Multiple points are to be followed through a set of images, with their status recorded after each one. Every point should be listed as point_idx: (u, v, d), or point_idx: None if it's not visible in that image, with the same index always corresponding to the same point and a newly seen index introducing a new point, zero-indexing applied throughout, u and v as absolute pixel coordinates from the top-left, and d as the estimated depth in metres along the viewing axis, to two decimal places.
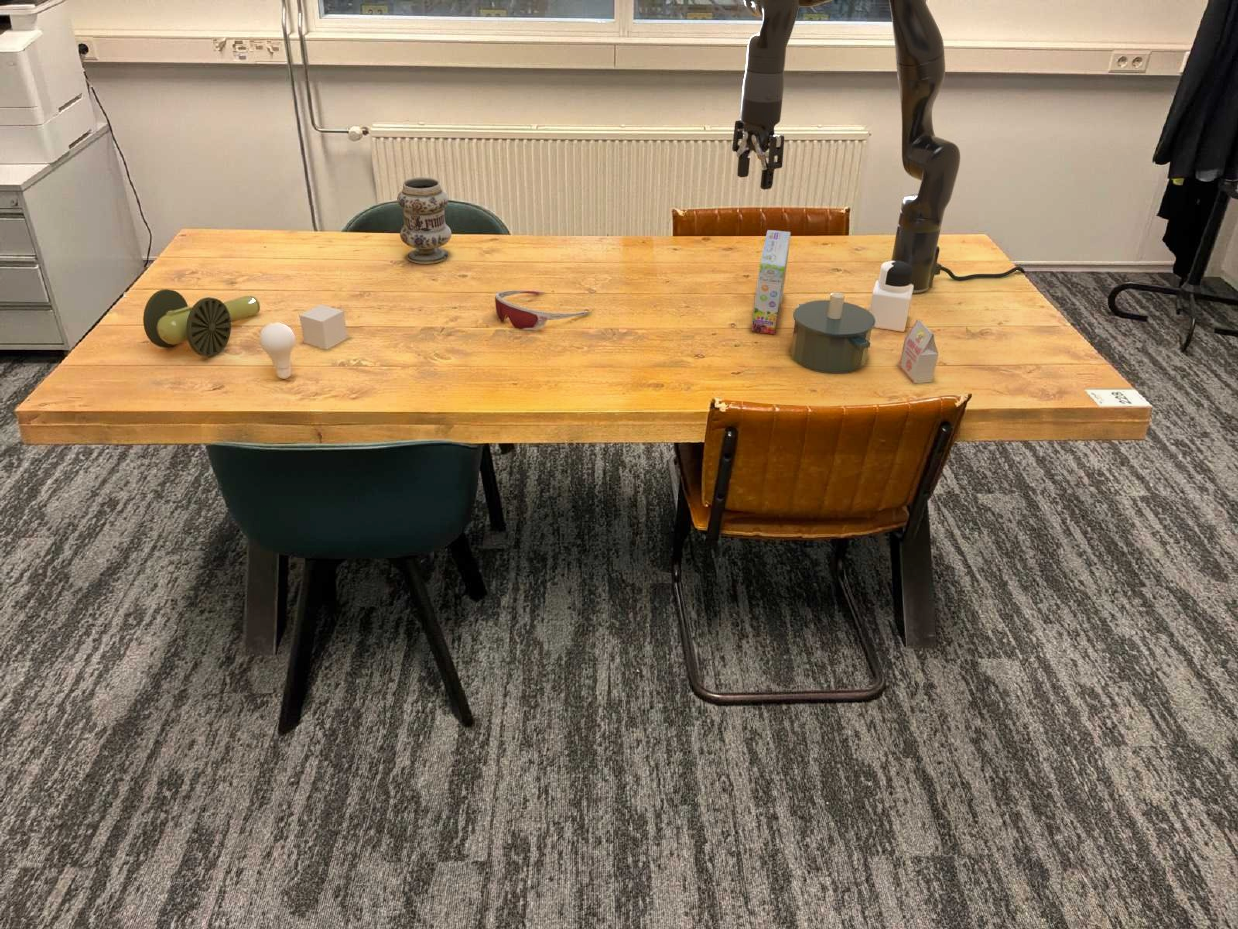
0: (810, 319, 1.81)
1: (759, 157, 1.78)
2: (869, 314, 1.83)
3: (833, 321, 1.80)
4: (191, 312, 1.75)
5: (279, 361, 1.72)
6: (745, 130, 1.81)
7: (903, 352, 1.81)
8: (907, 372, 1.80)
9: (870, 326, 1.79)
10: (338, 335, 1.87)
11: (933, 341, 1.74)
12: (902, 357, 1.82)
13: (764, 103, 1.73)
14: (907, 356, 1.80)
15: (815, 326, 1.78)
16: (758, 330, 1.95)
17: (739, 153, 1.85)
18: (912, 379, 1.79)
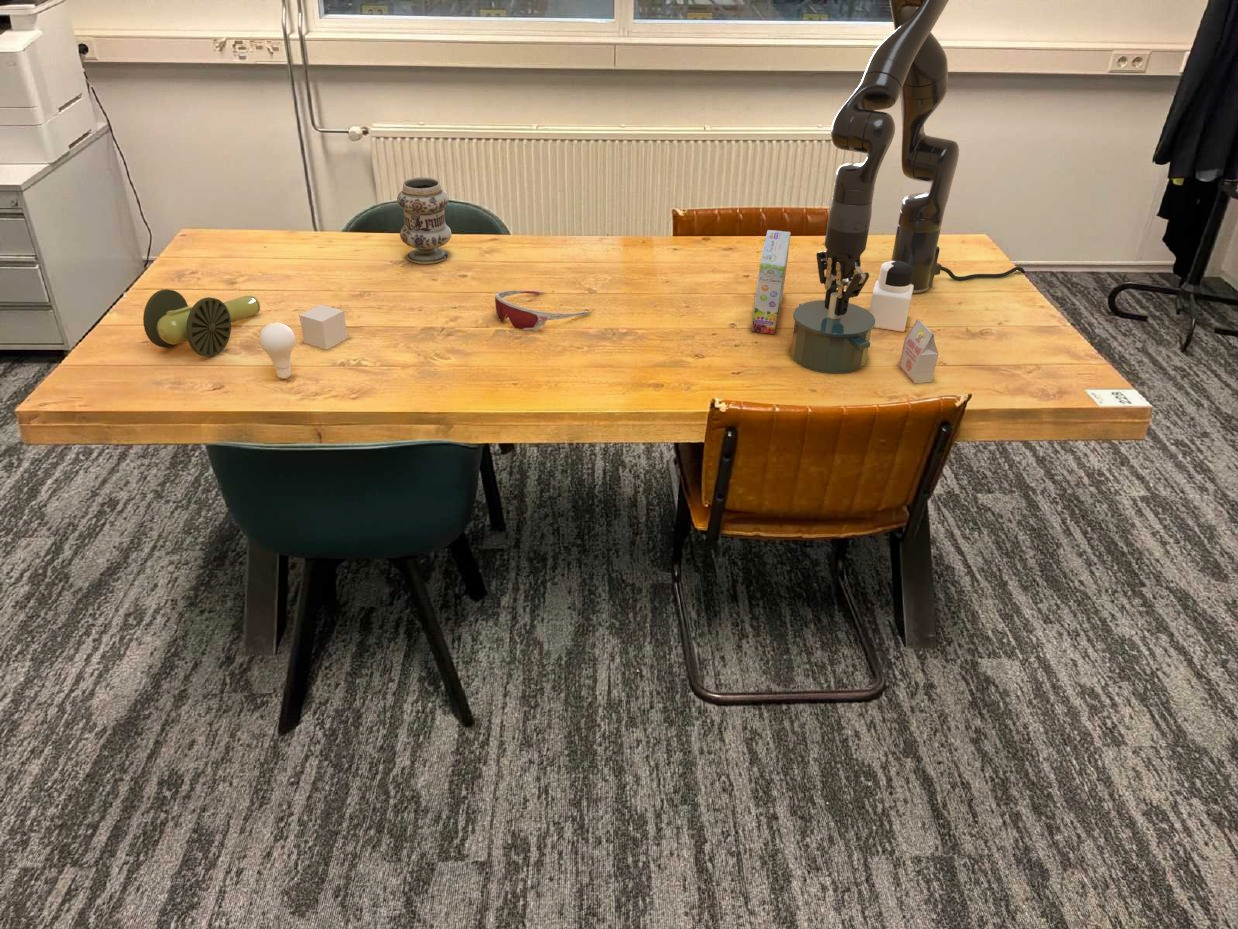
0: (810, 319, 1.81)
1: (837, 284, 1.76)
2: (869, 314, 1.83)
3: (833, 321, 1.80)
4: (191, 312, 1.75)
5: (279, 361, 1.72)
6: (828, 255, 1.78)
7: (903, 352, 1.81)
8: (907, 372, 1.80)
9: (870, 326, 1.79)
10: (338, 335, 1.87)
11: (933, 341, 1.74)
12: (901, 357, 1.82)
13: (851, 234, 1.69)
14: (907, 356, 1.80)
15: (815, 326, 1.78)
16: (758, 330, 1.95)
17: (827, 285, 1.80)
18: (912, 379, 1.79)
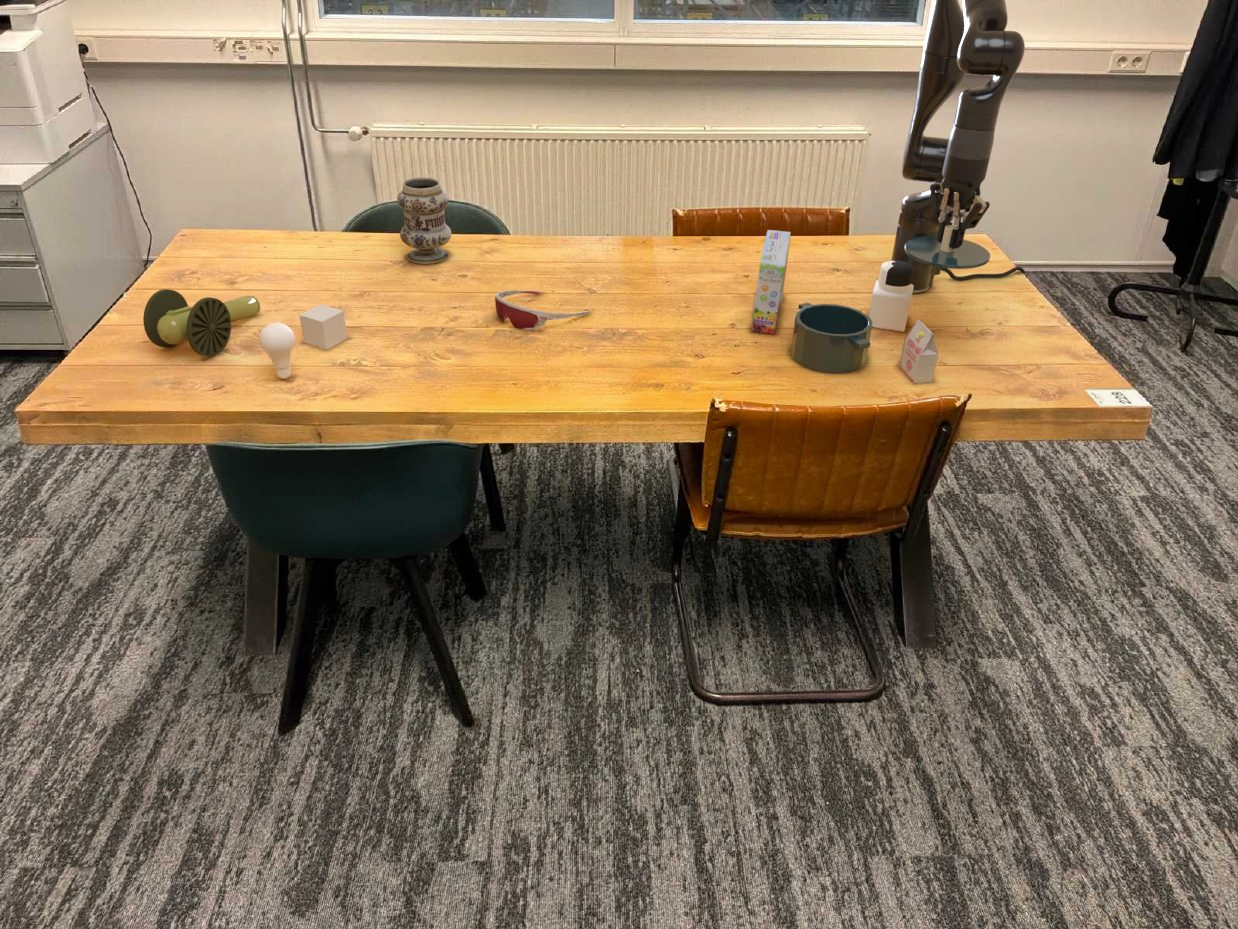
0: (923, 252, 1.78)
1: (954, 215, 1.73)
2: (982, 248, 1.80)
3: (947, 254, 1.77)
4: (191, 312, 1.75)
5: (279, 361, 1.72)
6: (944, 186, 1.74)
7: (903, 352, 1.81)
8: (907, 372, 1.80)
9: (986, 259, 1.75)
10: (338, 335, 1.87)
11: (933, 341, 1.74)
12: (902, 357, 1.82)
13: (974, 161, 1.66)
14: (907, 356, 1.80)
15: (930, 258, 1.75)
16: (758, 330, 1.95)
17: (942, 217, 1.76)
18: (912, 379, 1.79)
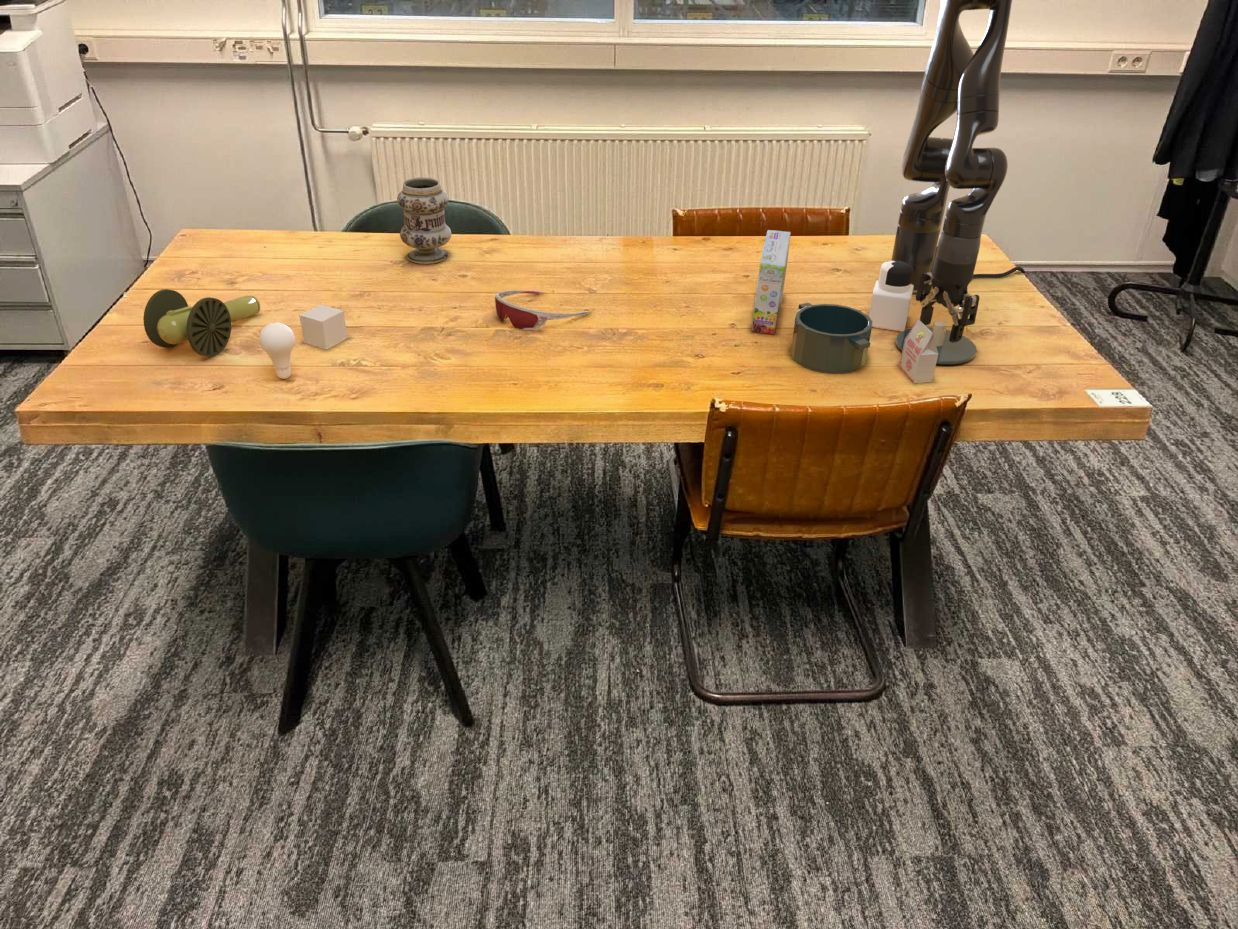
0: None
1: (951, 313, 1.82)
2: (969, 341, 1.91)
3: None
4: (191, 312, 1.75)
5: (279, 361, 1.72)
6: (934, 284, 1.85)
7: (903, 352, 1.81)
8: (907, 372, 1.80)
9: (972, 353, 1.86)
10: (338, 335, 1.87)
11: (933, 341, 1.74)
12: (902, 357, 1.82)
13: (961, 265, 1.77)
14: (907, 356, 1.80)
15: None
16: (758, 330, 1.95)
17: (924, 304, 1.89)
18: (912, 379, 1.79)
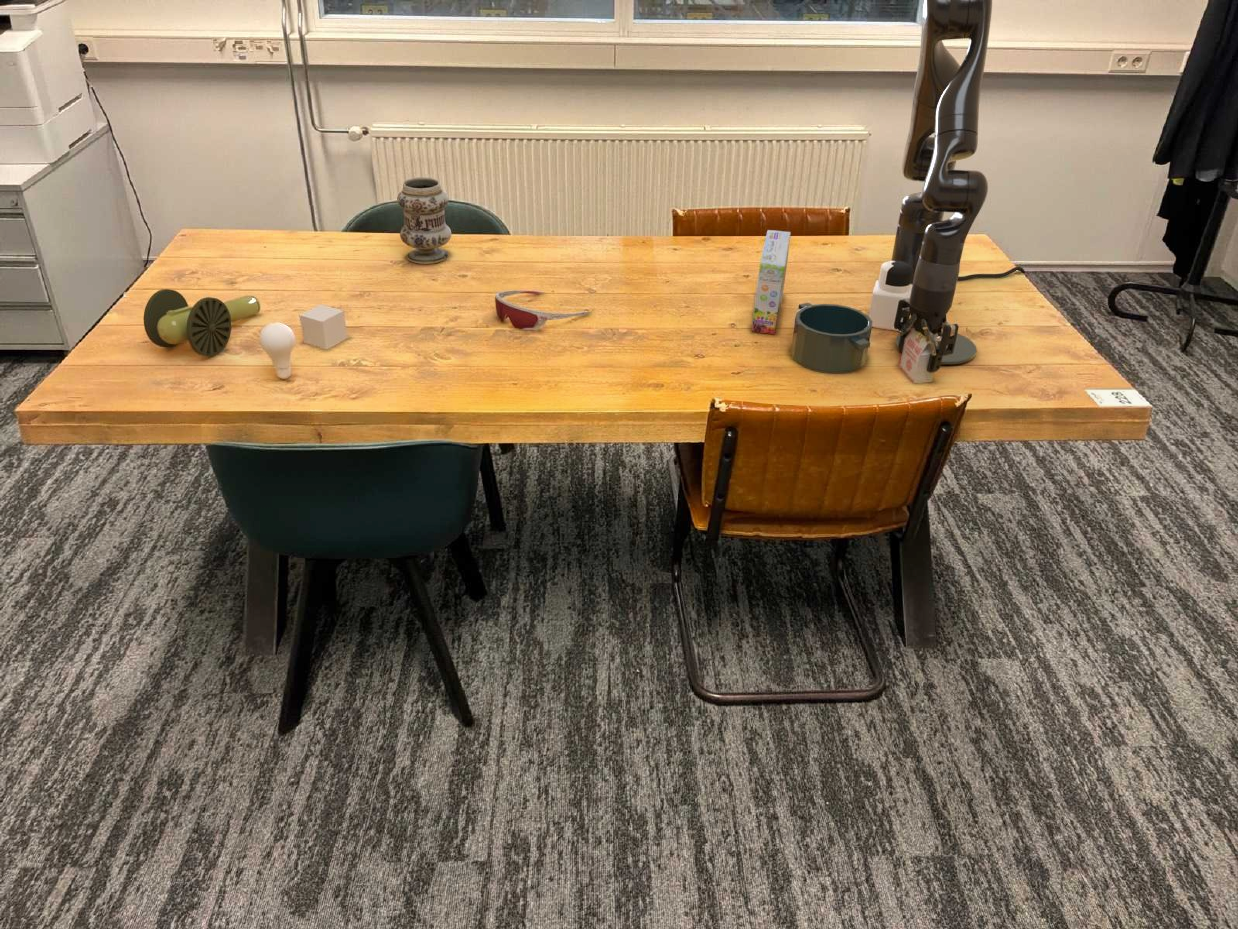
0: None
1: (928, 342, 1.74)
2: (969, 341, 1.91)
3: None
4: (191, 312, 1.75)
5: (279, 361, 1.72)
6: (912, 311, 1.77)
7: (903, 352, 1.81)
8: (907, 372, 1.80)
9: (972, 353, 1.86)
10: (338, 335, 1.87)
11: None
12: (902, 357, 1.82)
13: (939, 292, 1.68)
14: (907, 356, 1.80)
15: None
16: (758, 330, 1.95)
17: (903, 332, 1.80)
18: (912, 379, 1.79)
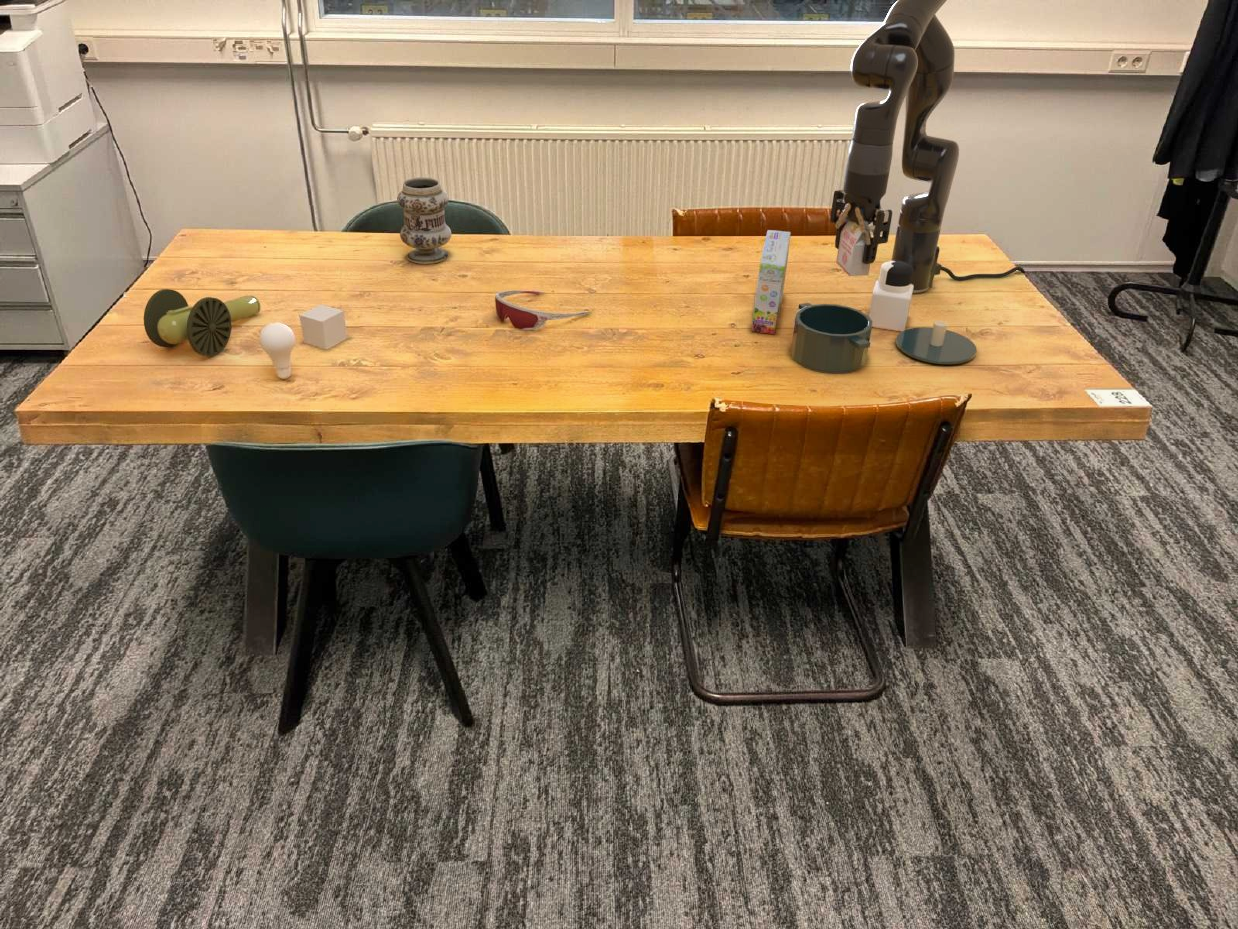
0: (914, 346, 1.89)
1: (863, 231, 1.68)
2: (969, 341, 1.91)
3: (936, 348, 1.88)
4: (191, 312, 1.75)
5: (279, 361, 1.72)
6: (846, 201, 1.71)
7: (840, 246, 1.76)
8: (843, 266, 1.75)
9: (972, 353, 1.86)
10: (338, 335, 1.87)
11: None
12: (838, 252, 1.77)
13: (872, 176, 1.63)
14: (843, 249, 1.75)
15: (920, 353, 1.86)
16: (758, 330, 1.95)
17: (838, 225, 1.75)
18: (848, 272, 1.74)
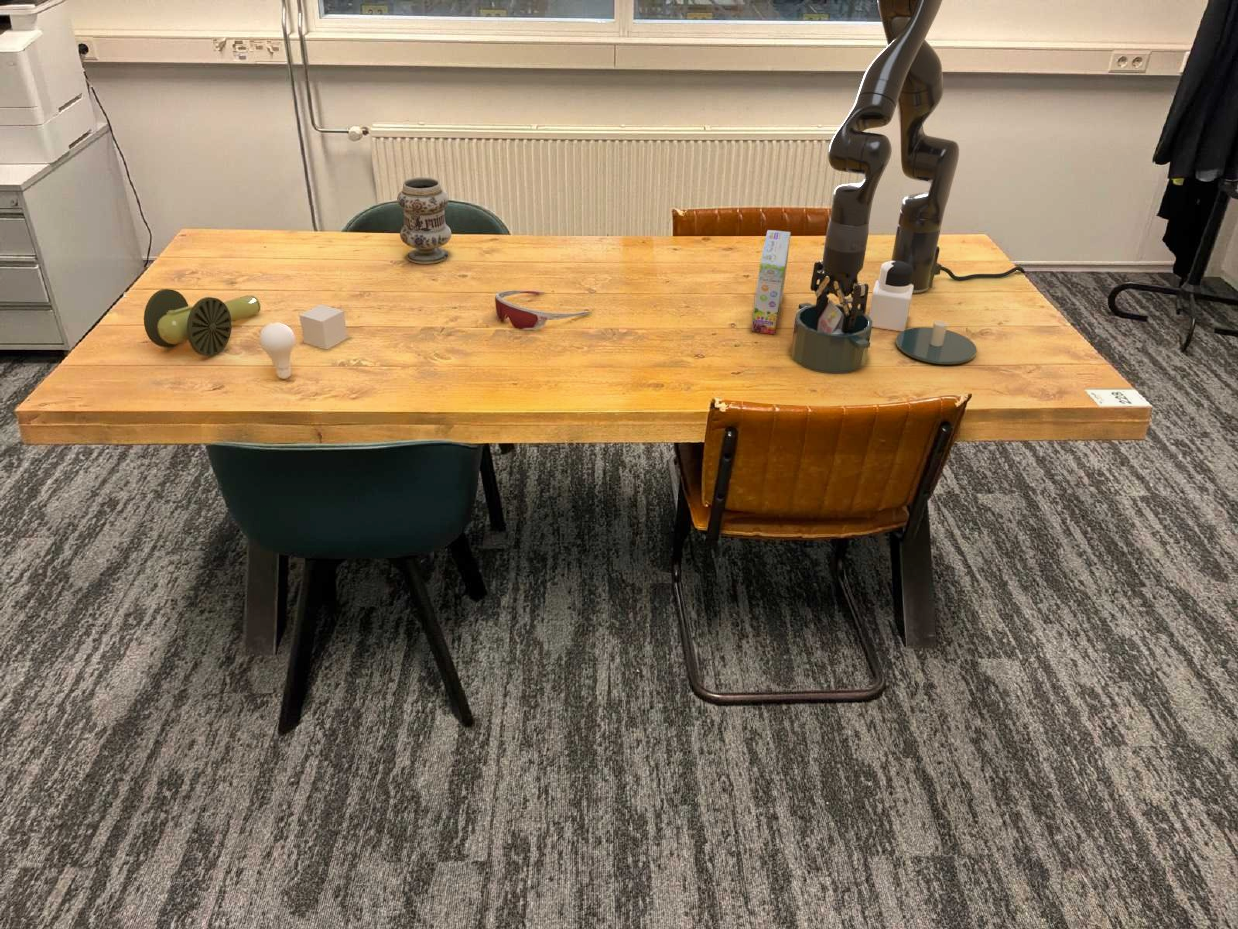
0: (914, 346, 1.89)
1: (841, 303, 1.77)
2: (969, 341, 1.91)
3: (936, 348, 1.88)
4: (191, 312, 1.75)
5: (279, 361, 1.72)
6: (826, 273, 1.80)
7: None
8: None
9: (972, 353, 1.86)
10: (338, 335, 1.87)
11: None
12: None
13: (849, 253, 1.71)
14: None
15: (920, 353, 1.86)
16: (758, 330, 1.95)
17: (818, 294, 1.83)
18: None
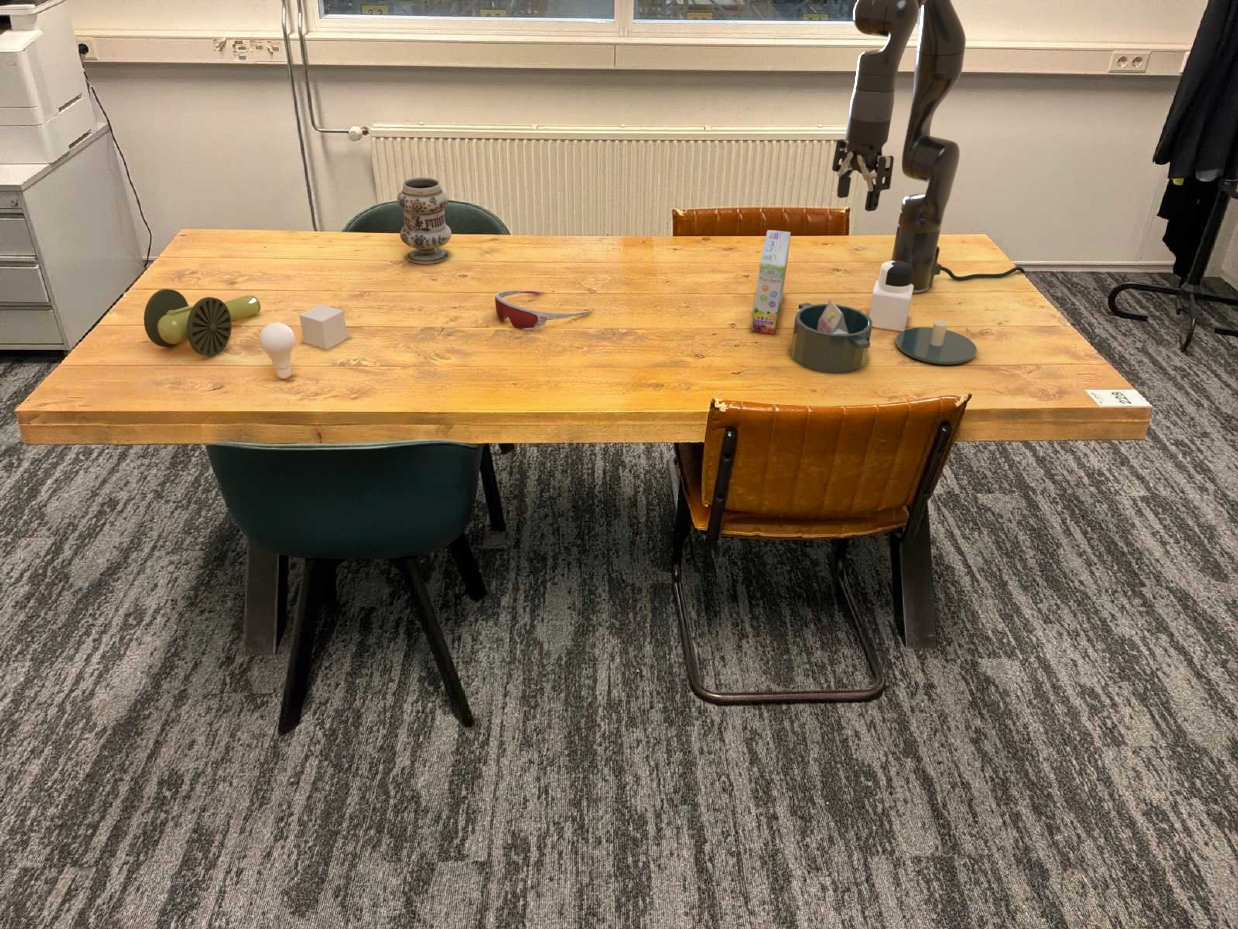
0: (914, 346, 1.89)
1: (865, 178, 1.72)
2: (969, 341, 1.91)
3: (936, 348, 1.88)
4: (192, 312, 1.75)
5: (279, 361, 1.72)
6: (849, 150, 1.75)
7: None
8: None
9: (972, 353, 1.86)
10: (338, 335, 1.87)
11: (843, 321, 1.80)
12: None
13: (874, 123, 1.66)
14: None
15: (920, 353, 1.86)
16: (758, 330, 1.95)
17: (840, 173, 1.78)
18: None
